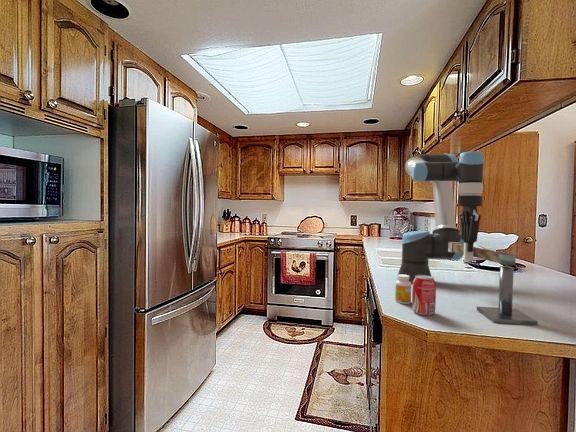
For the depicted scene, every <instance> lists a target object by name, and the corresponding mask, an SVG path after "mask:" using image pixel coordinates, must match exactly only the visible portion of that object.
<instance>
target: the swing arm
mask: <svg viewBox="0 0 576 432" xmlns="http://www.w3.org/2000/svg"><path fill="white" fill-rule="evenodd" d="M448 252H457V253H461V254H464V245H463V244H461V243H459V242H448ZM473 258H477V259H481V260H484V261H488V262H492V263H497V264H500V265H502V266H515V265H516V260H517V259H516V254H514V253H506V252H502V251H496V250H493V249H488V248H487V249H486V248H482V247H476V246H474V249H473Z"/></svg>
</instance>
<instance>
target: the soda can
mask: <svg viewBox="0 0 576 432" xmlns="http://www.w3.org/2000/svg"><path fill="white" fill-rule="evenodd" d="M436 291H437V284H436V281H435V277H434V276H428V275H415V279H414V280H413V284H412V288H411V305H412V307H411V308H412V311H413V312H414V313H416V314H417V315H421V316H425V315H427V316H432V315H433V314H435V312H436V304H437V301H436V300H437V299H436V297H437V295H436V294H437V292H436Z"/></svg>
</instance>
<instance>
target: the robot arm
mask: <svg viewBox="0 0 576 432" xmlns="http://www.w3.org/2000/svg"><path fill="white" fill-rule="evenodd" d="M458 159H459V160H458ZM484 163H485V160H484V153H483V152H482V151H478V150H474V151H473V150H472V151H464V152H461V153H460V155H459V158H457V156H456V155H455V154H453V153H438V154H437V153H431V154H430V153H427V154H426V153H424V154H423V153H421V154H418V155H414V156H412V157H409V159H408V160H406V161H405V163H404V170H405V172H406V174H407V175H408V176H411V179H412V181H414V182H420V183H423V182H430V183H431V184H432V188H433V189H432V190H433V191H432V193H433V207H434V208H433V209H434V223H435V224H434V225H435V228H434V229H433V230H432V233H430V231H429V230H414V231H408V232H405V233H403V235H402V240H401V244H402V245H401V264H400V267H399V270H398V273H397V276H398V275H400V274H404V275H409V282H411V285H413V280H414V279H415V275H428V276H432V273H431V269H430V267H429V261H430V260H441V261H442V260H443V261H445V260H446V261H447V260H448V261H460V260H461V259H462V258H463V262H464V261H465V262H474V257H473V249H474V247H475V246H474V245H475V244H474V243H476V242H478V236H479V227H480V221H481V219H482V216H481V214H478V213H479V212H478V207H482V206H483V195H482V194H483V189H484V186H483V183H484V182H483V181H484ZM453 182H456V183H458V193H457V194H458V198H457V199H458V200H457V205H458V207H462V211H461V213H460V214H459V220H460V222H459V223H460V228H458V227H457V224H456V222H457V221H456V213H455V212H456V211H455V203H454V201H455V200H454V191H453ZM448 242H459V243H461V244H463V245H464V254H461V253H457V252H448ZM432 277H433V276H432Z"/></svg>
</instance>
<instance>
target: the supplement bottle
mask: <svg viewBox="0 0 576 432" xmlns="http://www.w3.org/2000/svg"><path fill="white" fill-rule="evenodd" d="M394 295H395V297H394V298H395V300H394V301H395V302H396V303H398V304H404V305H406V304H407V305H408V304H412V283H411V282H409V275H404V274H400V275H398V274H397V280H396V281H395V294H394Z"/></svg>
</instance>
